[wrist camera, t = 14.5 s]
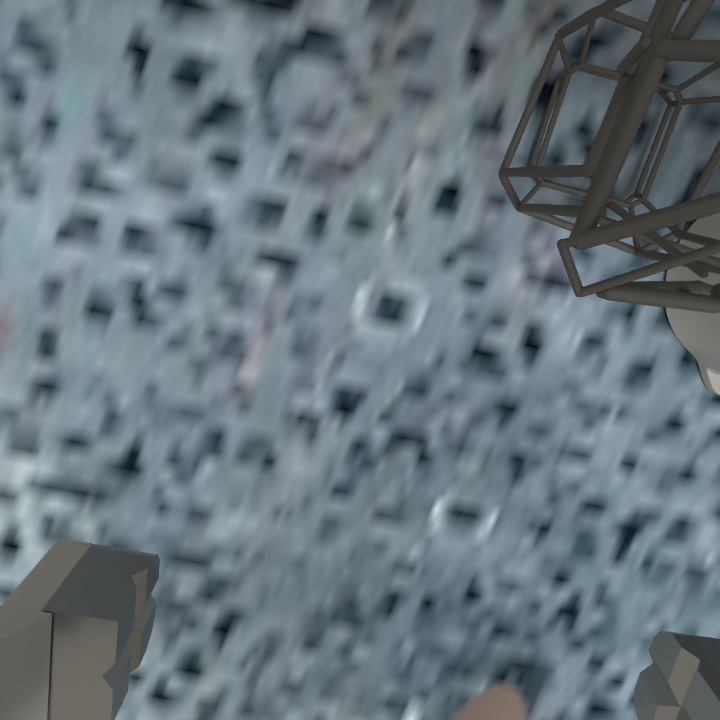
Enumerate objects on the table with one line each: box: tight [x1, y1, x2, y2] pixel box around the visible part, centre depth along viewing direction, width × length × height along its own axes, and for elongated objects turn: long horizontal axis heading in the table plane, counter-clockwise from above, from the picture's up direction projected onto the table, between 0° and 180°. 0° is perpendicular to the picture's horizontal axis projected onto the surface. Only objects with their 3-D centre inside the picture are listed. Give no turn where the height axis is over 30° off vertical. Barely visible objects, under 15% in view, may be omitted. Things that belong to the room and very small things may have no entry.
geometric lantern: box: [499, 0, 720, 313], centre depth 28 cm, size 16×16×35 cm
